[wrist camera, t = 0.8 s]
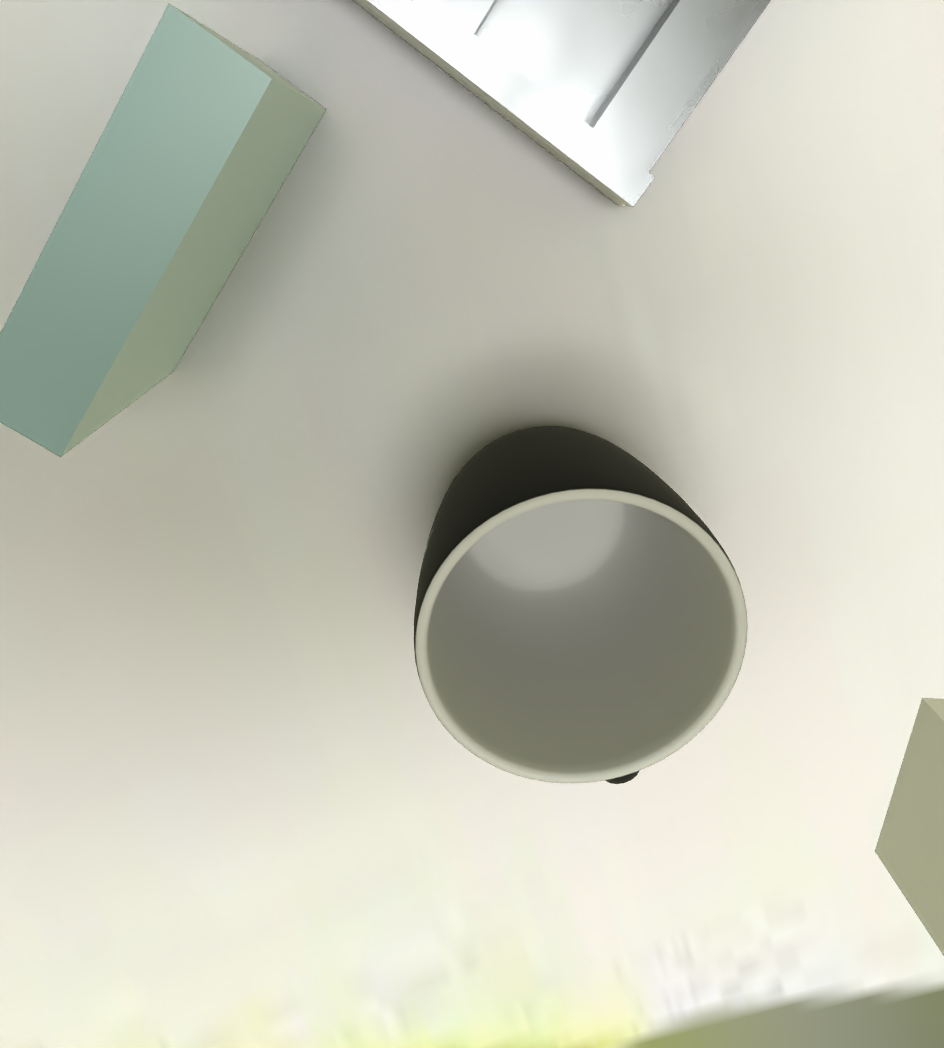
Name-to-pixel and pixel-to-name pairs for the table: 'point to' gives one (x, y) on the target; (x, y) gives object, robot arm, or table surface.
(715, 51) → the rack
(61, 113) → the table surface
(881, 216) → the table surface
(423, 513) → the table surface
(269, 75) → the block
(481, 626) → the mug
